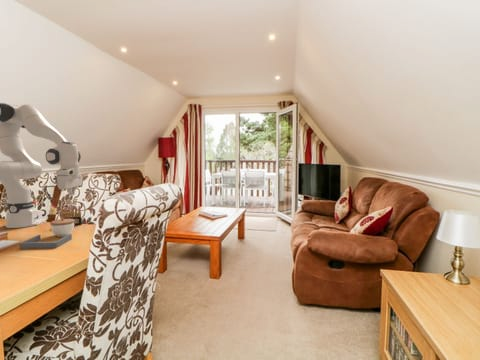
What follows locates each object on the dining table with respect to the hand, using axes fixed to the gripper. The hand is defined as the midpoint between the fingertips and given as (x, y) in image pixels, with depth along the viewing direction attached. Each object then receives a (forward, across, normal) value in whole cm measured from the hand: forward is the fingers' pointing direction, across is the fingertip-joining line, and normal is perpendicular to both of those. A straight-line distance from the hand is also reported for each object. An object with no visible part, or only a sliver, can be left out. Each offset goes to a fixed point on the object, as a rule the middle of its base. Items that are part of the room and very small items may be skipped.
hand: (71, 195), depth 157 cm
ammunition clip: (+20, -11, -6) cm, 24 cm away
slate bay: (+20, +24, 0) cm, 32 cm away
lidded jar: (+20, +10, 0) cm, 23 cm away
